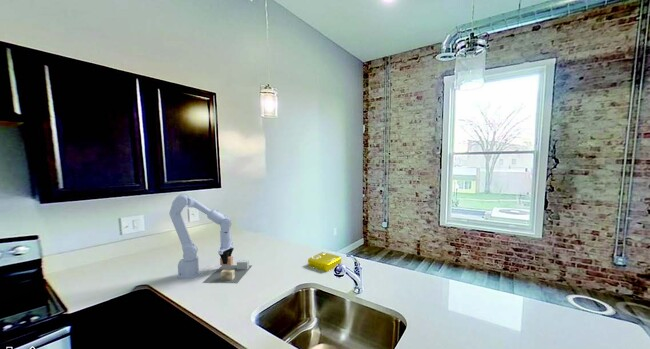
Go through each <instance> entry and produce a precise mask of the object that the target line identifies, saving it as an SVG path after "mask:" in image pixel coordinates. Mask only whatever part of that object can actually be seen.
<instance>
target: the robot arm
mask: <svg viewBox="0 0 650 349" xmlns="http://www.w3.org/2000/svg"><path fill="white" fill-rule="evenodd" d="M186 206H187V208H195V209H196V210H198V211H200V212H202V213H203V214H205V215H206V217H207V219H209V220H210V221H212V222H213V223H215V224H216V225H219V227H220V231H219V233H220V236H219V238H220V240H219V241H220V248H219V250H218V251H217V253H218V254H217V255H219V256H220V258H221V259H222V262H223V264H227V262H228V256H231V257H232V254H233V251H234V249H235V248H234V242H232V227H231V226H232V221H231V218H230V217H229V216H226V214H222V213H221V212H220V210H219V209H210V208H208V206H206V205H205V204H203V203H202V202H200V201H199V200H197V199H195V198H194V197H193V196H190V195H188V194H186V193H180V194H179V195H178V196H176V197H175V198H174V200H173V201H172V203H171V206H170V210H169V216H170V219H171V222H172V224H173V226H174V229H175V231H176V234H177V237H178V239H179V241H180V245H181V249H182V259H180V260H179V261H178V264H177V278H176V279H195V278H197V277H198V276H199V275H200V274H201V273H203V271H202V270H201V271H200V269H199V267H200V265H199V256H198V255H197V254H198V250H199V249H198V246H197V245H195V243H194V242H193V240H192V238H191V236H190V234H189V231H188V228H187V226H186V223H185V221H184V218H183V216H182V212H183V210H184V208H185V207H186Z"/></svg>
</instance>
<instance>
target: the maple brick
mask: <svg viewBox="0 0 650 349" xmlns="http://www.w3.org/2000/svg"><path fill="white" fill-rule="evenodd" d="M234 278H235V270H222V271H221V280H233V279H234Z"/></svg>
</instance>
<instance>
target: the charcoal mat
mask: <svg viewBox="0 0 650 349" xmlns="http://www.w3.org/2000/svg"><path fill="white" fill-rule="evenodd" d="M252 267H253V265H250V264H249V268H248V269H237V264H236V265H235V264H232V265H231V266H229V265H220V267H219V268H217V269H216V270H214V272H213V273H211V274H210V275H209V276H208V277H207V278H206V279H205V280H203V281H202V284H238V283H240V280H241V279H243V277H244V276H245V275H246V273H248V271H249V270H250V269H251V268H252ZM222 270H235V278H234V279H233V280H221V271H222Z"/></svg>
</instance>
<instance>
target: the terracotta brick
mask: <svg viewBox="0 0 650 349" xmlns="http://www.w3.org/2000/svg"><path fill="white" fill-rule="evenodd" d="M233 257H234V256H232V255H231V256H228V262H227V264H223V262H222V259H221V257H220V258H219V263H220V264H219V266H222V265H229V266H231V265H234V258H233Z"/></svg>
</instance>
